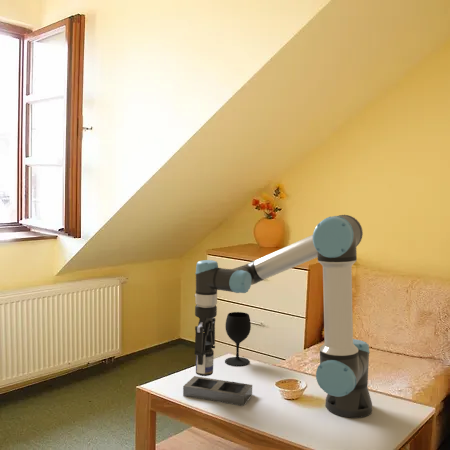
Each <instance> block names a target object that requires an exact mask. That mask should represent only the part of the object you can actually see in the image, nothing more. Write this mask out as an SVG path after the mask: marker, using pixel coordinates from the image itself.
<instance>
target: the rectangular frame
mask: <svg viewBox="0 0 450 450" xmlns="http://www.w3.org/2000/svg"><path fill="white" fill-rule="evenodd" d="M252 395H253V384H250V383H249V384H248V383H243V382H236V381H235V382H234V381H229V380H221V379H217V378H210V377H204V376H198V375H197V376H196V375H194V376H193V377H192V378H191V379H189V380H188V381H187V382H186V383H184V385H183V388H182V396H183V397H186V398H187V397H188V398H194V399H199V400H205V401H211V402H217V403H225V404H230V405H235V406H242V407H245V405H246V404H247V402H248V401H249V399H250V398H251V397H252Z"/></svg>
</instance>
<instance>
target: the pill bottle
mask: <svg viewBox="0 0 450 450" xmlns="http://www.w3.org/2000/svg"><path fill="white" fill-rule="evenodd" d="M211 347H212V342H210V341H206V345H205V353H204V355H205V374H202V373H197V355H195V374H196V375H197V376H199V377H209V376H212V374H214V357H215V356H214V355H215V352H214V348H212V349H211Z"/></svg>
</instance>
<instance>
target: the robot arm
mask: <svg viewBox="0 0 450 450" xmlns="http://www.w3.org/2000/svg"><path fill="white" fill-rule="evenodd" d="M363 234H364V233H363V227H362V225H361V223H360V222H359V221H358V219H357V218H355V217H354V216H352V215H349V214H340V215H333V216H328V217H326V218H324V219H322V220H321V221H320V222H319V223H317V224H316V226H315V228H314V230H313V233H312V234H311V235H309V236H306V237H304V238H302V239H300V240H297V241H295V242H293V243H291V244H288V245H286V246H284V247H282V248H280V249H278V250H275V251H273V252H270V253H268V254H266V255H264V256H262V257H260V258H258V259H255V260H253V261H250V262H248V263H246V264H244V265H240V266H238V267H235V268H224V267H223V268H222V267H219V263H218V261H215V260H210V259H205V260H204V259H203V260H199V261H197V262H196V266H195V272H194V273H195V274H194V275H195V294H194V298H195V300H194V301H195V304H196V305H195V307H194V315H195V317H197V318H198V319H199V320H198V324H197V325H196V326H195V327H194V330H195V331H194V332H195V338H194V339H195V341H194V355H195V356H196V355H197V373H202V374H205V355H204V353H205V345H206V341H210V342H212V347H211V349H215V348H216V345H215V344H216V317H217V312H218V306H217V304H218V291H223V292H229V293H235V294H246V293H248V292H249V290H250V288H251V287H252V285H256V284H258V283H260V282H262V281H265V280H266V279H269V278H271V277H273V276H276V275H278V274H280V273H284V272H285V271H288V270H291V269H293V268H295V267H298V266H300V265H302V264H305V263H308V262H310V261H312V260H314V259H317V263H318V264H320V265H321V266H322V287H323V288H322V289H323V291H322V292H323V293H322V294H323V295H322V296H323V328H324V329H323V330H324V332H323V333H324V342H323V343H322V345H321V346H320V347H319V365H318V366H317V368H316V371H315V379H316V382H317V385H318V386H319V388H320V389H322V391H323V392H325V393H326V397H325V408H326V409H327V410H328V411H329V412H330V413H332V414H335V415H337V416H341V417H345V418H351V419H352V418H354V419H355V418H365V417H367V416H369V415H371V414H372V412H373V402H372V398H371V395H370V391H369V387H368V384H369V383H368V382H369V381H368V380H369V366H370V365H369V360H370V353H371V352H370V345H369V344H368V343H367V342H366V341H364V340H361V339H356V338H354V322H353V320H354V318H353V315H354V313H353V274H352V273H353V272H352V271H353V269H352V267H353V265H354V264H355V263H356V262H357V260H358V259H357V247H358V246H359V244H361V242H362V239H363V236H364V235H363Z"/></svg>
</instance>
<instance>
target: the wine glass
mask: <svg viewBox="0 0 450 450" xmlns="http://www.w3.org/2000/svg"><path fill="white" fill-rule="evenodd" d="M251 322H252V321H251V318H250V314H249V313H247V312H242V311H234V312H233V311H231V312H229V313H227V316H226V319H225V332H226V334H227V336H228V338H229V339H230V340H231V341H232V342H234V343H235V346H236V347H235V349H236V350H235V351H236V353H235V356H232V357H228V358H225V360H224V363H225V364H226V365H228V366H230V365H231V367H245V366H248V365H250V362H251V361H250V360H249V359H248V358H247V357H241V356H240V352H239V351H240V344H241V343H243V341H245V340H246V339H247V337H248V336H249V335H250V333H251V330H252V325H251V324H252V323H251Z"/></svg>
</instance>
